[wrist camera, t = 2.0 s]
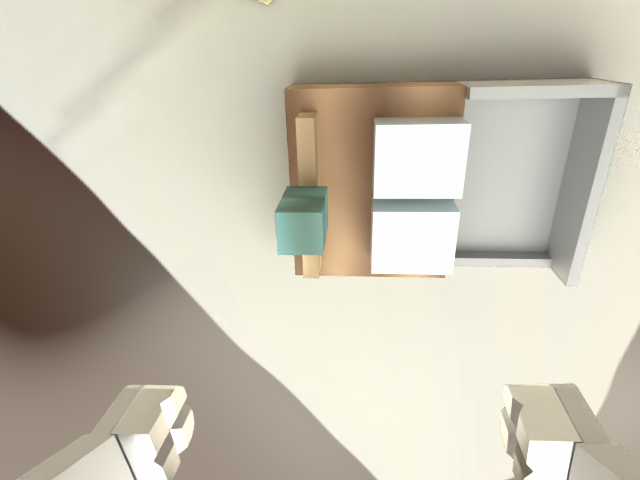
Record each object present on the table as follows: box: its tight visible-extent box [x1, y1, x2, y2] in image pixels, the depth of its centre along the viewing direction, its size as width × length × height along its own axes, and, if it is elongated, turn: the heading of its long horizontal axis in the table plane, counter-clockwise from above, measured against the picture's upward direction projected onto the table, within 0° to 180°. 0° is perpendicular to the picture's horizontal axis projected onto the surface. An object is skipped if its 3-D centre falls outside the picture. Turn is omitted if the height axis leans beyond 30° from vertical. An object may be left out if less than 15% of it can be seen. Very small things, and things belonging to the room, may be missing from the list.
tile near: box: [372, 116, 471, 199], centre depth 29 cm, size 6×5×3 cm
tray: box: [454, 78, 632, 286], centre depth 32 cm, size 10×15×5 cm, turn 2°
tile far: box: [370, 198, 460, 275], centre depth 32 cm, size 6×5×3 cm
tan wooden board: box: [285, 81, 467, 278], centre depth 34 cm, size 12×15×4 cm
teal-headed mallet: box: [275, 111, 328, 278], centre depth 29 cm, size 3×12×8 cm, turn 1°
